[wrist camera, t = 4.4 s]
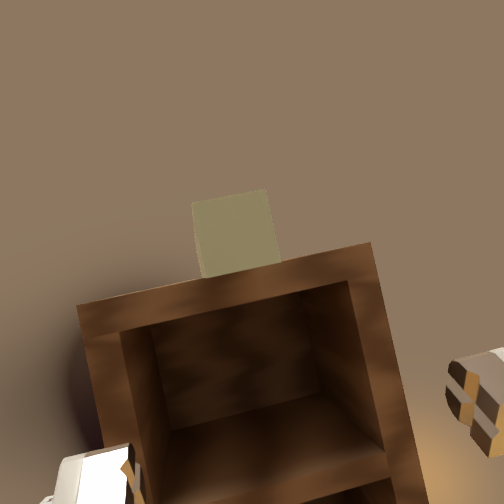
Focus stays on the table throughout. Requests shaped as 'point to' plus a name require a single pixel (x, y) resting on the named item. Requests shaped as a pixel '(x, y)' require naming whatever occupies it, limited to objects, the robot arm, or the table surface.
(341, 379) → the wooden pedestal block
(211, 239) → the stick
